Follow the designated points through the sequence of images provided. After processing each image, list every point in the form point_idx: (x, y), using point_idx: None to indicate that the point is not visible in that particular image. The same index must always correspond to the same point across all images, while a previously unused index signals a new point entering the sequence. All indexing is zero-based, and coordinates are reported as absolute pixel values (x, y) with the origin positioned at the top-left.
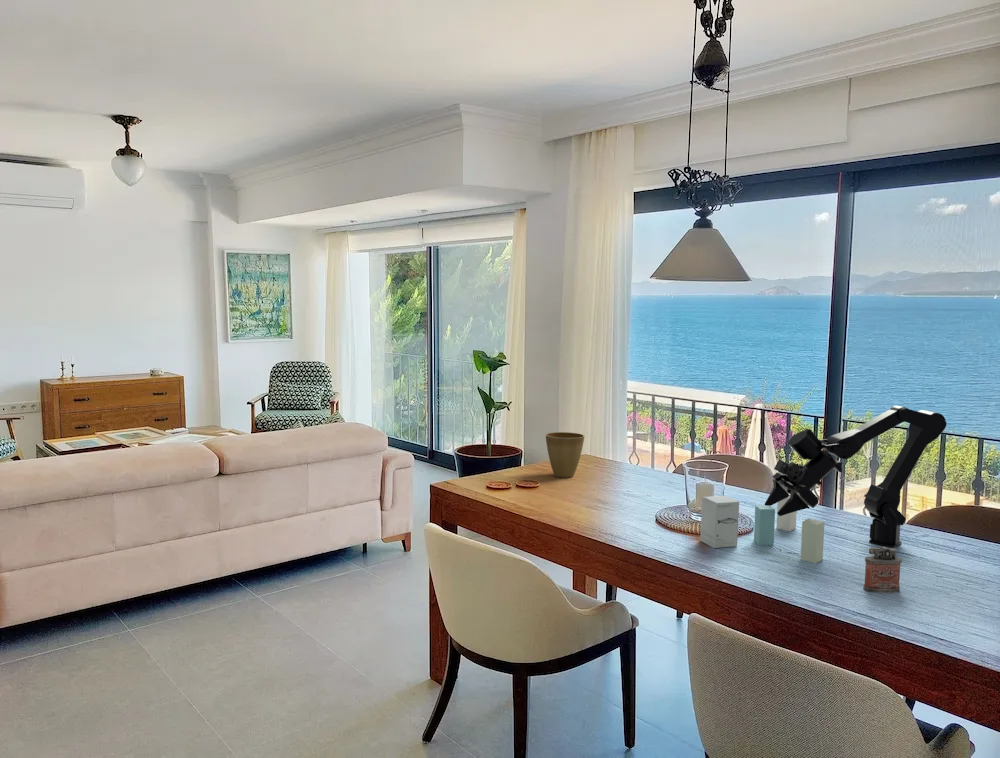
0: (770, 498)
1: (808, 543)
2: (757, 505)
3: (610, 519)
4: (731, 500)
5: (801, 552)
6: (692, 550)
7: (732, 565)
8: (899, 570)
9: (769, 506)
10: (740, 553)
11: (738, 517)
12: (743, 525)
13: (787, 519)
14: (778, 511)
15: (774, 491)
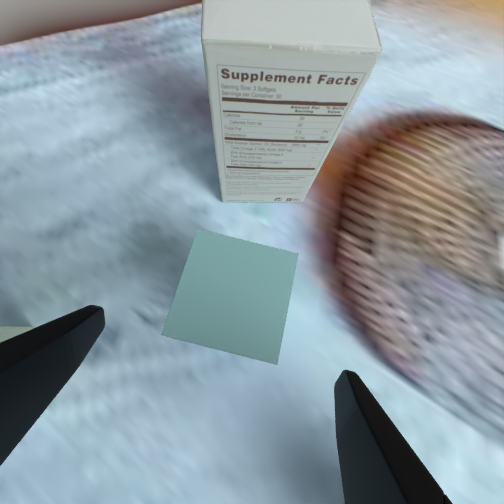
0: (370, 443)
1: None
2: (295, 268)
3: (491, 43)
4: (236, 9)
5: (5, 328)
6: None
7: (89, 110)
8: None
9: (249, 343)
10: (164, 178)
11: (212, 129)
12: (452, 368)
13: None
14: (86, 312)
15: None
